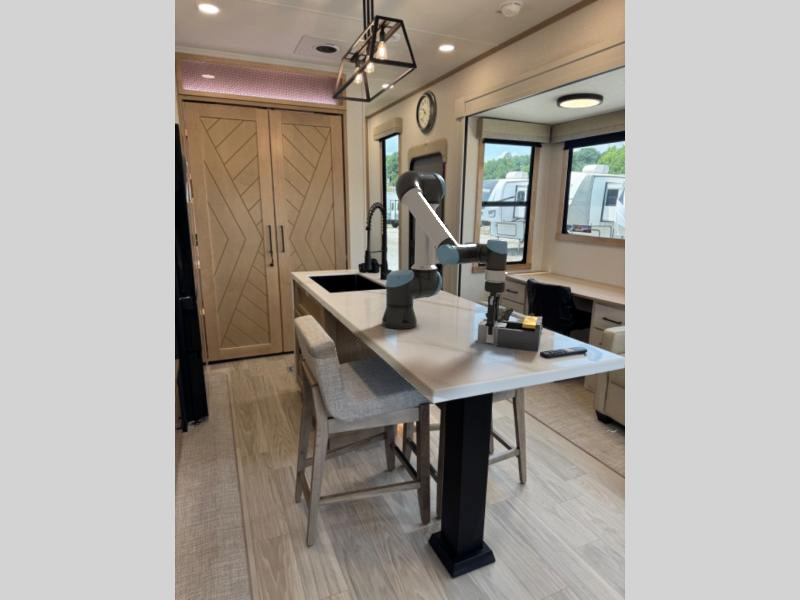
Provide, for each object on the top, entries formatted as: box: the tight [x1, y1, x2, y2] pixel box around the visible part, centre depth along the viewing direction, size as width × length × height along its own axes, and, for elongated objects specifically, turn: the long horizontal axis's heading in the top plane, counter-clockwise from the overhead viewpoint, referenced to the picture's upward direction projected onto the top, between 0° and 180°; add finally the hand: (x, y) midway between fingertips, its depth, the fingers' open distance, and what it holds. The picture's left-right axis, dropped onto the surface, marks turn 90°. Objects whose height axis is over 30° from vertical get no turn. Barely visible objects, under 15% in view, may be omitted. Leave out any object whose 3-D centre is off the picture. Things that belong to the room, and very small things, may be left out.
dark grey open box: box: [496, 315, 543, 353], centre depth 165 cm, size 15×13×10 cm
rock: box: [484, 307, 514, 323], centre depth 199 cm, size 13×13×10 cm
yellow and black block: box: [515, 312, 544, 332], centre depth 184 cm, size 10×11×10 cm
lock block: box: [476, 320, 507, 345], centre depth 169 cm, size 10×6×7 cm, turn 71°
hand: (491, 339), depth 169 cm, fingers open, 7 cm apart
